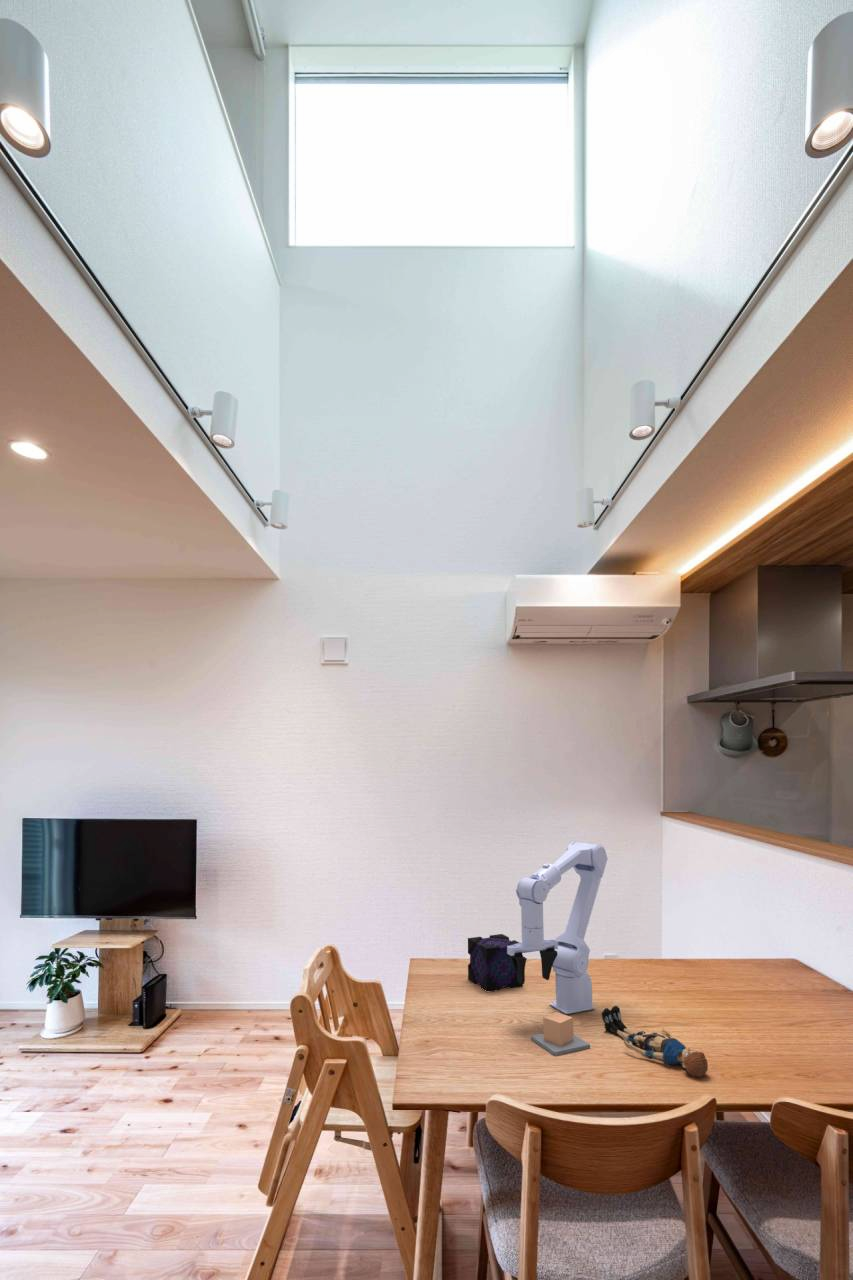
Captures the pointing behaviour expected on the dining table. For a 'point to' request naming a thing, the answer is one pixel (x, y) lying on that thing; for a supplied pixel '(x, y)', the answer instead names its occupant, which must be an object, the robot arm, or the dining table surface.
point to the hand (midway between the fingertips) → (533, 980)
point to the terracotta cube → (558, 1028)
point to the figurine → (656, 1044)
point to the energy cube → (491, 963)
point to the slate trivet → (557, 1049)
